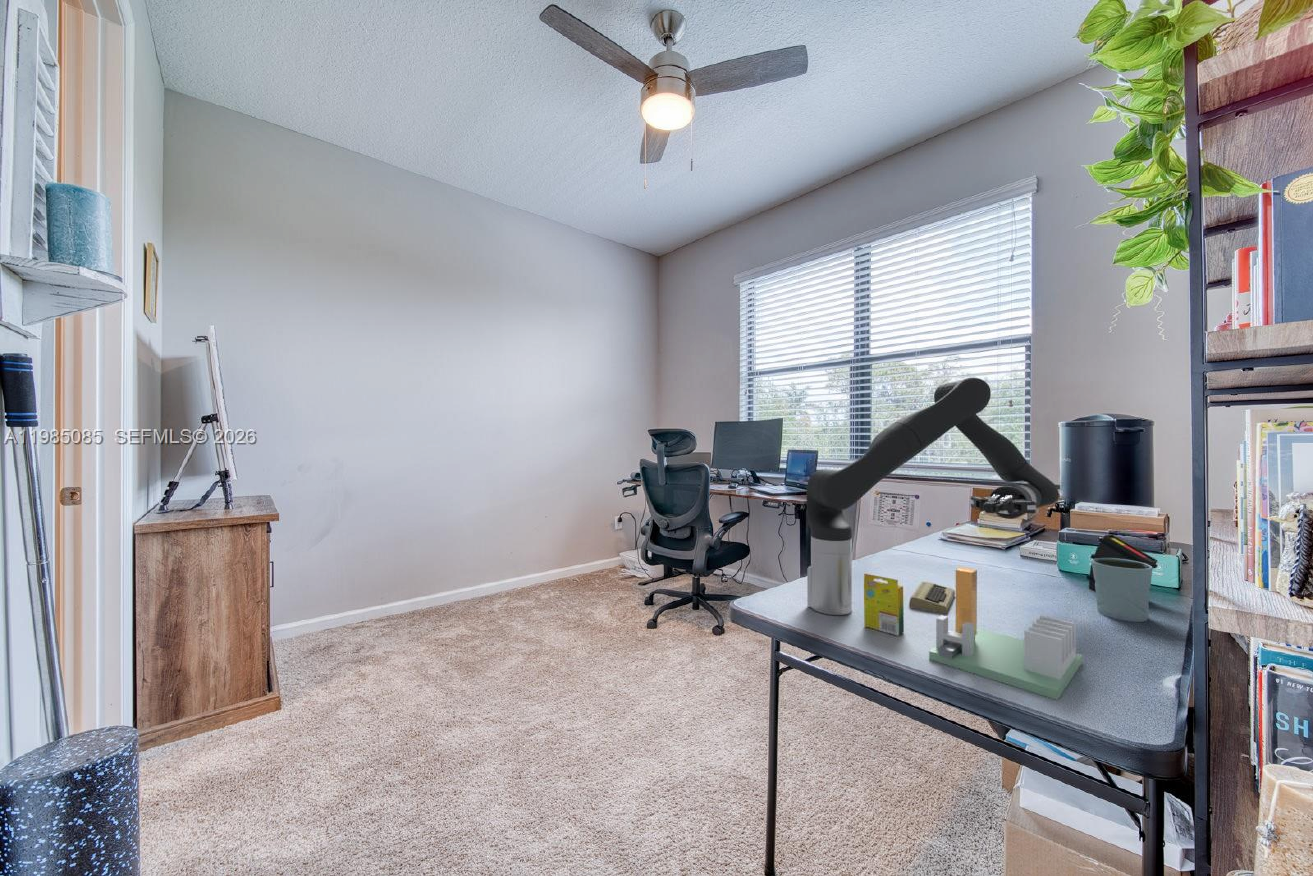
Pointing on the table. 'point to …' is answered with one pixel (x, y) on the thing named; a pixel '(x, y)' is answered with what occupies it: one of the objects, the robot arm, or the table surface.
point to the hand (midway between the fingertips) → (989, 508)
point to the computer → (932, 597)
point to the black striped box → (1118, 554)
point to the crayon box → (883, 605)
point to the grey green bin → (1122, 588)
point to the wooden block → (963, 608)
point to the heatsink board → (1016, 654)
